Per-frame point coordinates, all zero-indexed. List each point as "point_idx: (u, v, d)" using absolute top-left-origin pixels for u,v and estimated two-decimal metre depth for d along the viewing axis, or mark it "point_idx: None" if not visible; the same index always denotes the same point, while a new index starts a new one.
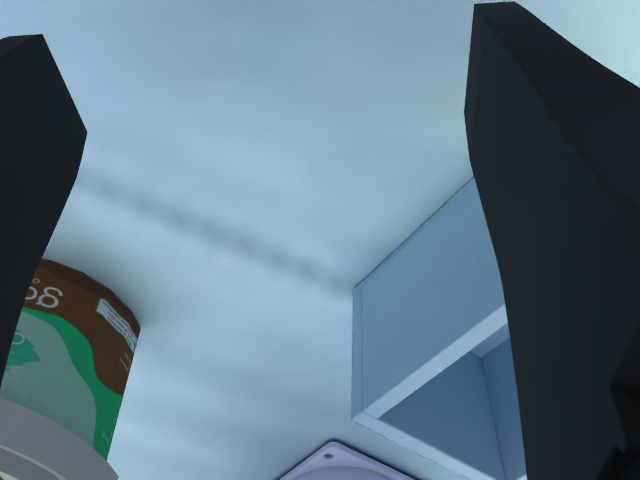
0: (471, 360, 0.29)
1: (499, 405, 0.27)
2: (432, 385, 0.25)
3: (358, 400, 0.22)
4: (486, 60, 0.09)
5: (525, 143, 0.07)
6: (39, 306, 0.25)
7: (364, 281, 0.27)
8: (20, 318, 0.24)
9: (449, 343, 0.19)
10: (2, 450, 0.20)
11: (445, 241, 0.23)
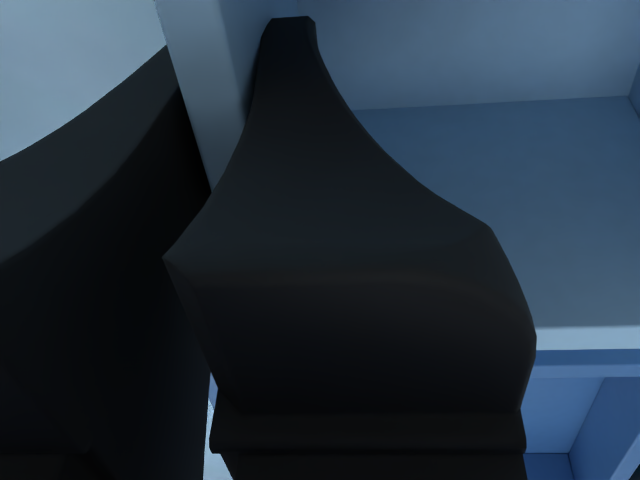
0: None
1: None
2: None
3: None
4: None
5: None
6: None
7: None
8: None
9: None
10: None
11: None
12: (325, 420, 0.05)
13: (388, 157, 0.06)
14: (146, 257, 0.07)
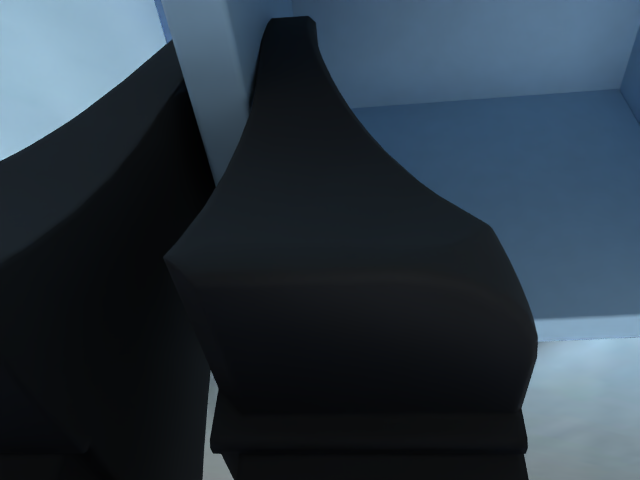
0: None
1: None
2: None
3: None
4: None
5: None
6: None
7: None
8: None
9: None
10: None
11: None
12: (326, 420, 0.05)
13: (389, 157, 0.06)
14: (146, 256, 0.06)
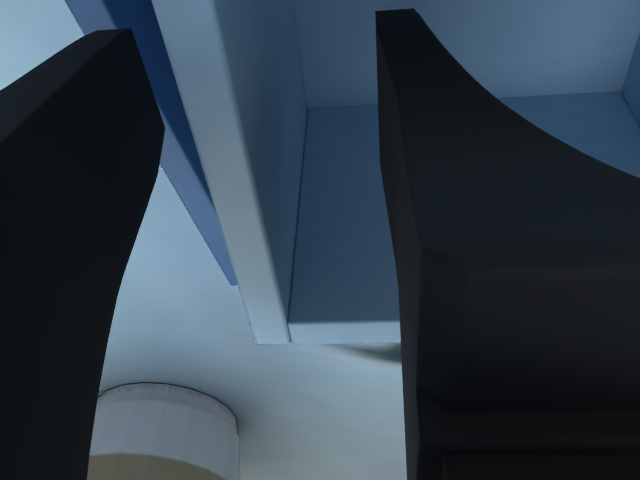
0: (302, 96, 0.14)
1: (321, 189, 0.13)
2: (273, 53, 0.10)
3: None
4: (379, 67, 0.09)
5: (396, 149, 0.07)
6: None
7: None
8: None
9: None
10: None
11: None
12: (541, 419, 0.05)
13: (574, 148, 0.05)
14: (2, 261, 0.07)
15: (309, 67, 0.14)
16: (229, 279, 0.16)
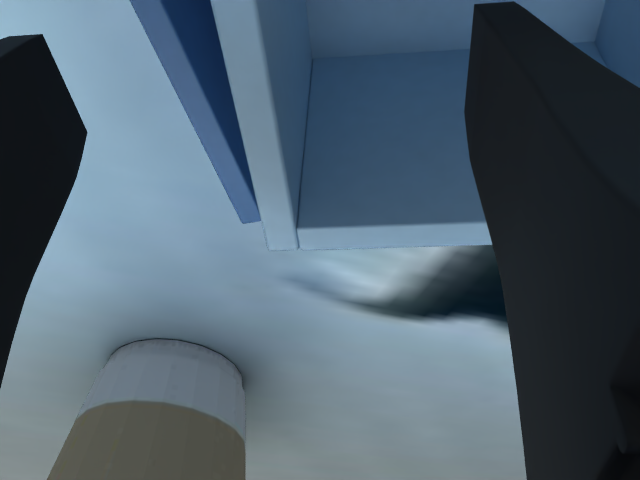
0: (308, 45, 0.16)
1: (325, 123, 0.15)
2: None
3: None
4: (486, 60, 0.09)
5: (525, 143, 0.07)
6: None
7: None
8: None
9: None
10: None
11: None
12: None
13: None
14: None
15: (314, 19, 0.16)
16: (240, 217, 0.18)
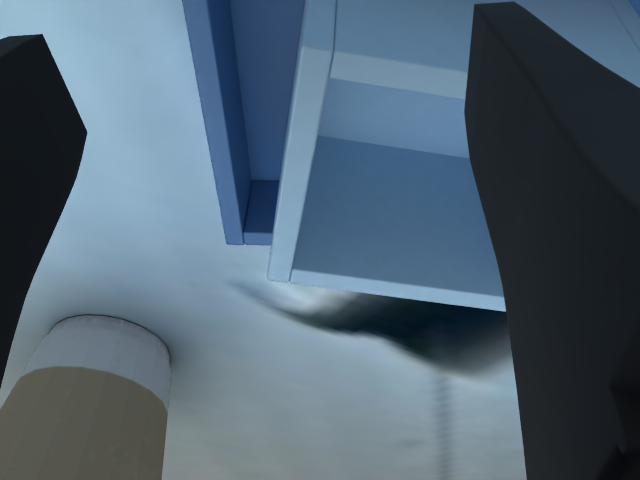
0: None
1: (313, 191, 0.21)
2: None
3: (324, 33, 0.13)
4: (486, 60, 0.09)
5: (525, 143, 0.07)
6: None
7: None
8: None
9: None
10: None
11: None
12: None
13: None
14: None
15: None
16: (227, 239, 0.23)
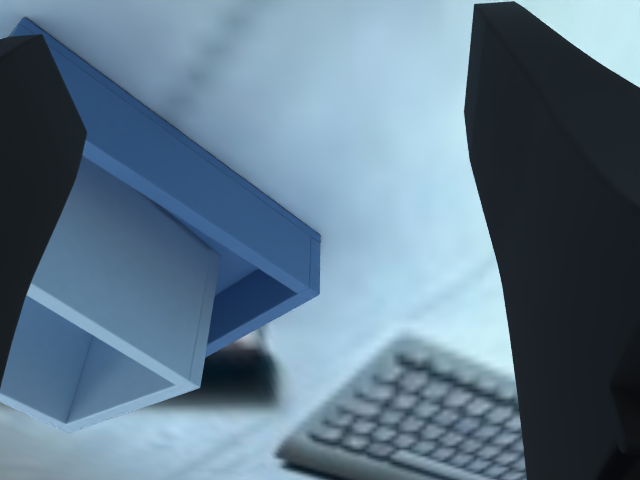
0: None
1: None
2: None
3: None
4: (486, 60, 0.09)
5: (525, 143, 0.07)
6: None
7: None
8: None
9: (130, 342, 0.22)
10: None
11: (164, 253, 0.26)
12: None
13: None
14: None
15: None
16: None
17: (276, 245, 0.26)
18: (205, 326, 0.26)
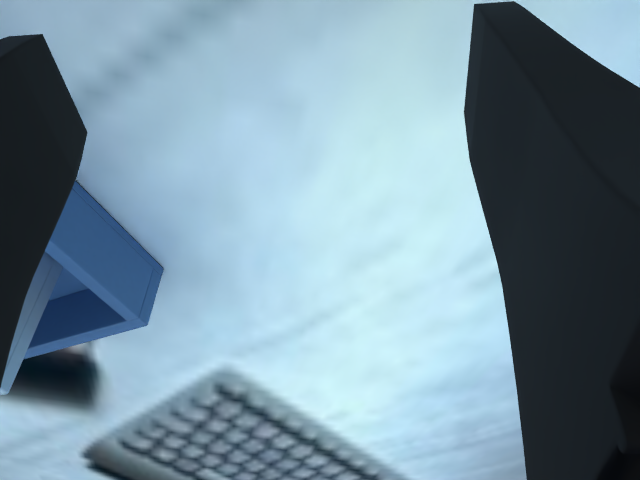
0: None
1: None
2: None
3: None
4: (486, 60, 0.09)
5: (525, 143, 0.07)
6: None
7: None
8: None
9: None
10: None
11: None
12: None
13: None
14: None
15: None
16: None
17: (115, 274, 0.27)
18: (29, 334, 0.27)
